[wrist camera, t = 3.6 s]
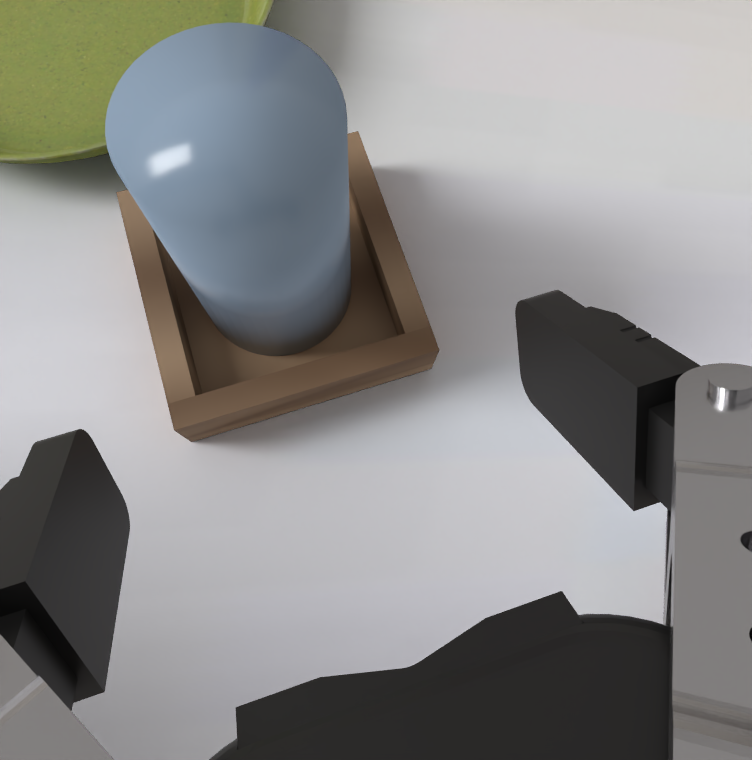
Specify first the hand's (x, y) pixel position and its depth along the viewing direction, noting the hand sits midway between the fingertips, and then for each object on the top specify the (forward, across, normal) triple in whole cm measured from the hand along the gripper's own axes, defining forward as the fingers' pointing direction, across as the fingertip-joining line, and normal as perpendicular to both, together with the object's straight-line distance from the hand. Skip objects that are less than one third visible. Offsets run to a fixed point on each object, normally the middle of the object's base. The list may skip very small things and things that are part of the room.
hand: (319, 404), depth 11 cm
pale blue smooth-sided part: (+14, 0, +3) cm, 15 cm away
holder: (+15, 0, +3) cm, 15 cm away
